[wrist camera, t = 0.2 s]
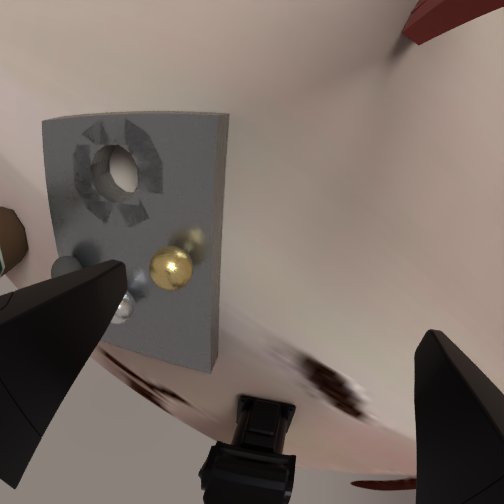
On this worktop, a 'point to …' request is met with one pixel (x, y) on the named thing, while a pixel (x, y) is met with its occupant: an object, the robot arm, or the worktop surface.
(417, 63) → the worktop surface
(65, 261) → the black ball
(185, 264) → the brass ball
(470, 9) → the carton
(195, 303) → the plate
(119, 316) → the steel ball
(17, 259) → the beer bottle
